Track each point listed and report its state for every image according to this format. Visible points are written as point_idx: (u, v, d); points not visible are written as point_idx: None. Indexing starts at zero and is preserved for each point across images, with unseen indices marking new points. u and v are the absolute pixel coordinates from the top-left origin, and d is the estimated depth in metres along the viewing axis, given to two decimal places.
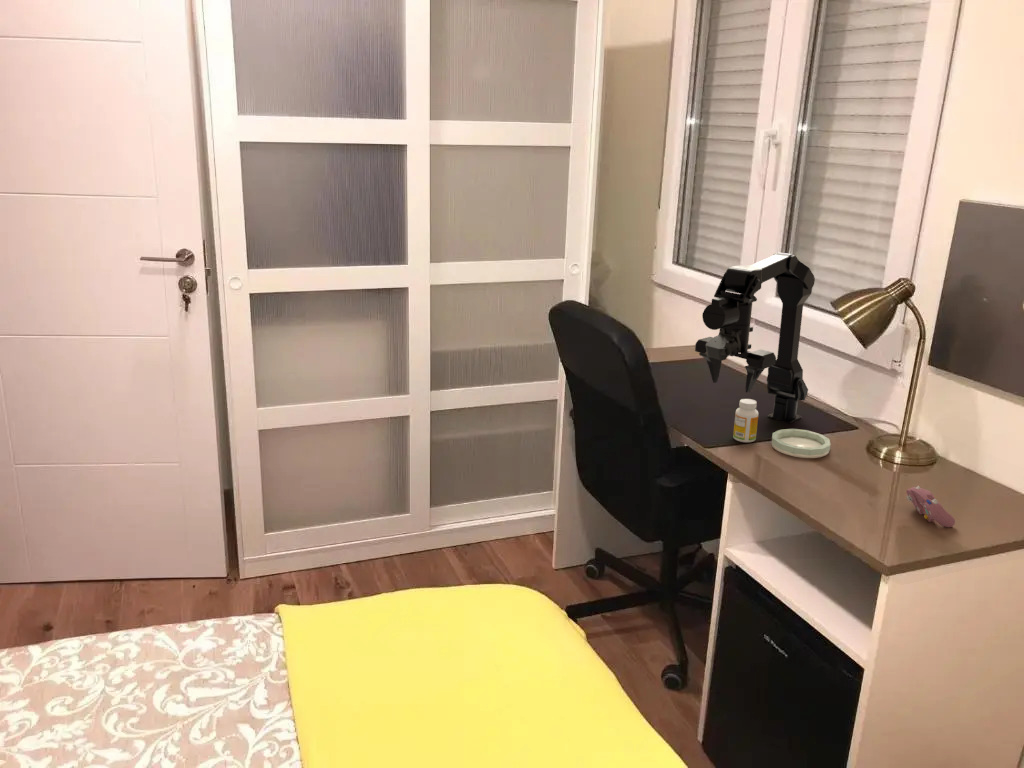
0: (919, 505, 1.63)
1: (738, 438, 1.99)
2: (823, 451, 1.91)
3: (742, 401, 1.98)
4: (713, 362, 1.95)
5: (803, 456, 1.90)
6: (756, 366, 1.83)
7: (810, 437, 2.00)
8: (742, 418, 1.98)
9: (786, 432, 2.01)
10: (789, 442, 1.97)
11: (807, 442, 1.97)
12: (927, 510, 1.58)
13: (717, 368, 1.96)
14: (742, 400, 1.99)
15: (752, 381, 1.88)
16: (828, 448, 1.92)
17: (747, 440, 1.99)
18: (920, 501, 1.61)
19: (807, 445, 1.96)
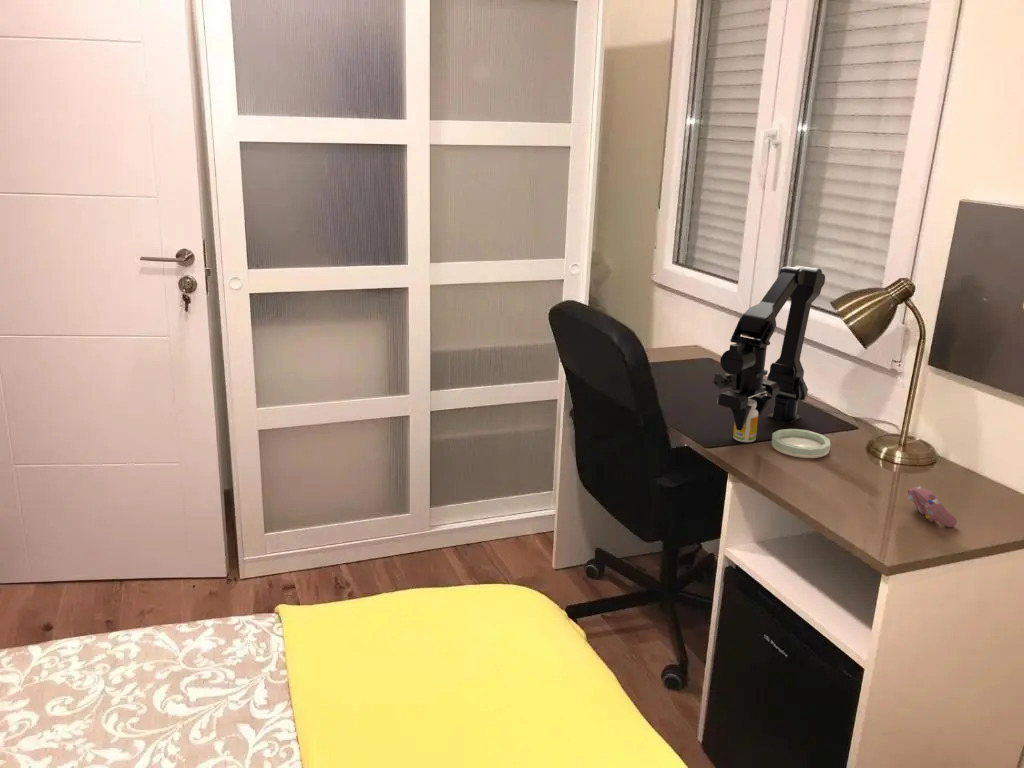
0: (920, 505, 1.63)
1: (738, 438, 1.99)
2: (823, 451, 1.91)
3: None
4: None
5: (803, 456, 1.90)
6: None
7: (810, 437, 2.00)
8: None
9: (786, 432, 2.01)
10: (789, 442, 1.97)
11: (807, 442, 1.97)
12: (928, 510, 1.58)
13: None
14: None
15: (737, 419, 1.97)
16: (828, 448, 1.92)
17: (747, 440, 1.99)
18: (922, 501, 1.61)
19: (807, 445, 1.96)
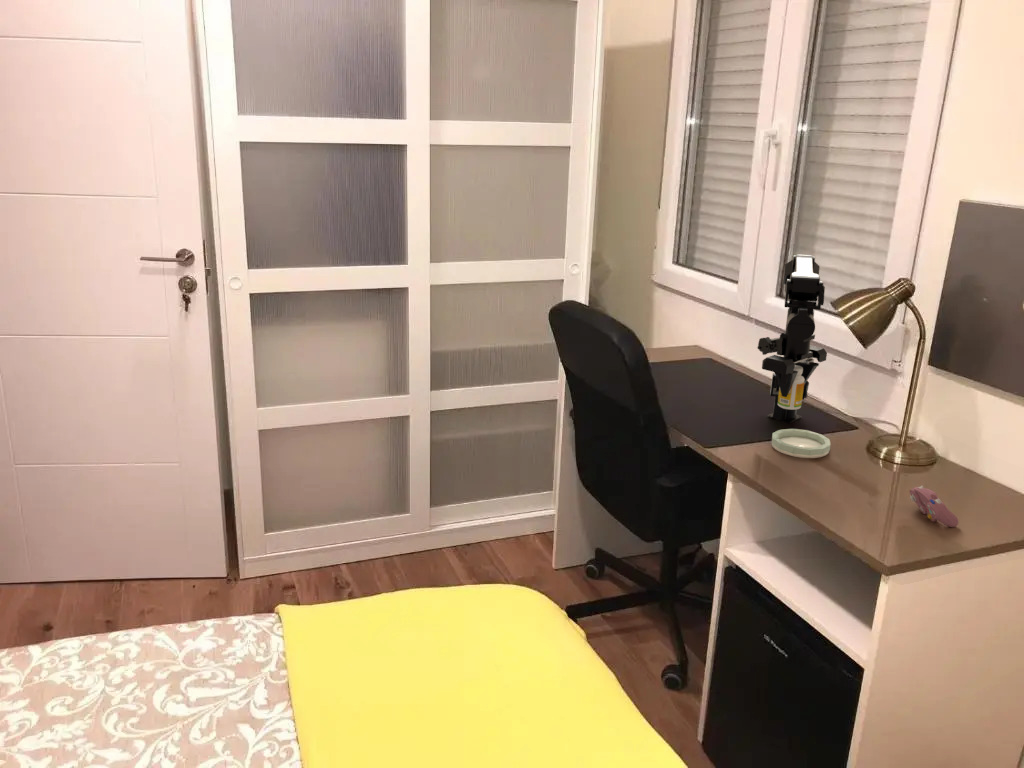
0: (922, 505, 1.63)
1: (783, 405, 1.93)
2: (823, 451, 1.91)
3: None
4: None
5: (803, 456, 1.90)
6: None
7: (810, 437, 2.00)
8: None
9: (786, 432, 2.01)
10: (789, 442, 1.97)
11: (807, 442, 1.97)
12: (931, 510, 1.58)
13: None
14: None
15: (782, 385, 1.90)
16: (828, 448, 1.92)
17: (792, 408, 1.92)
18: (924, 501, 1.61)
19: (807, 445, 1.96)
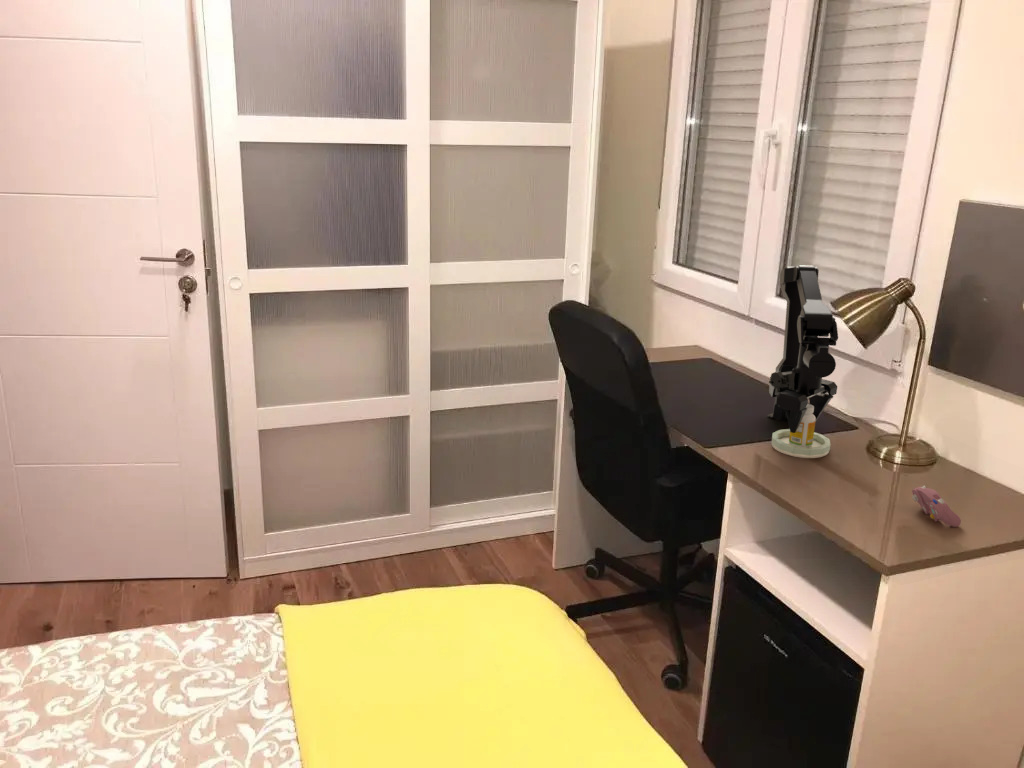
0: (925, 505, 1.63)
1: (794, 443, 1.94)
2: (823, 451, 1.91)
3: None
4: (811, 402, 1.97)
5: (803, 456, 1.90)
6: None
7: None
8: None
9: (786, 432, 2.01)
10: None
11: None
12: (933, 510, 1.58)
13: (815, 410, 1.97)
14: None
15: (791, 421, 1.90)
16: (828, 448, 1.92)
17: (804, 446, 1.94)
18: (926, 501, 1.61)
19: None
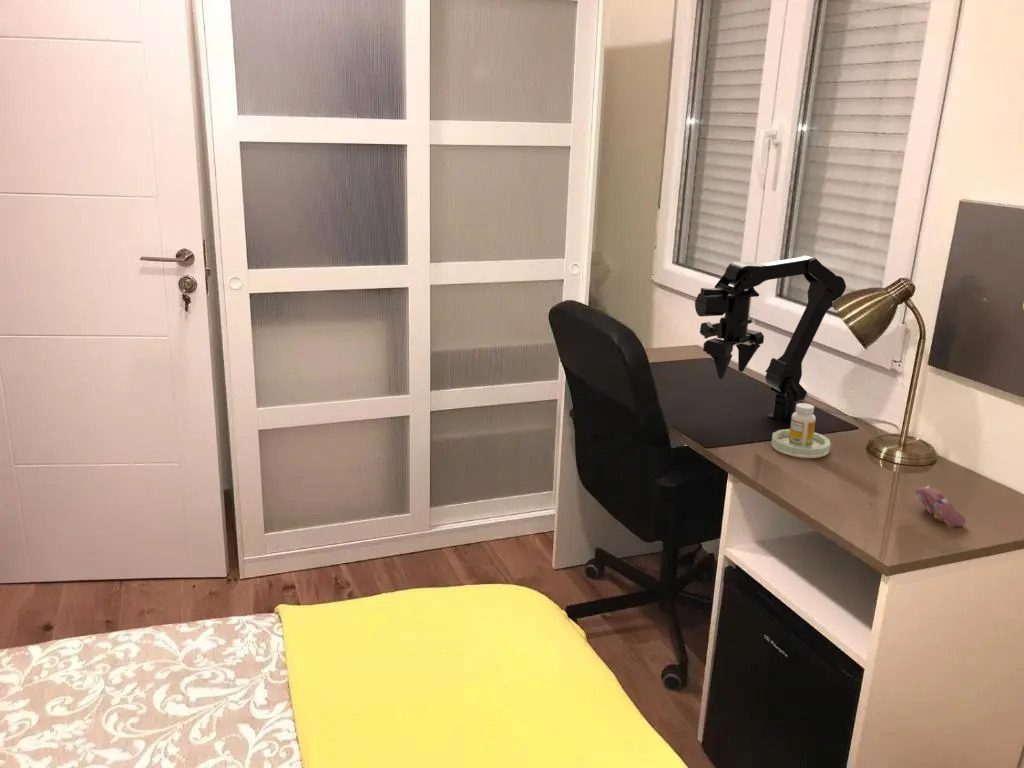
0: (929, 504, 1.63)
1: (794, 443, 1.94)
2: (823, 451, 1.91)
3: (799, 405, 1.93)
4: (739, 351, 2.10)
5: (803, 456, 1.90)
6: None
7: None
8: (799, 423, 1.92)
9: (786, 432, 2.01)
10: None
11: None
12: (937, 509, 1.58)
13: (744, 358, 2.09)
14: (799, 404, 1.94)
15: (719, 368, 2.03)
16: (828, 448, 1.92)
17: (804, 446, 1.94)
18: (931, 500, 1.61)
19: None
